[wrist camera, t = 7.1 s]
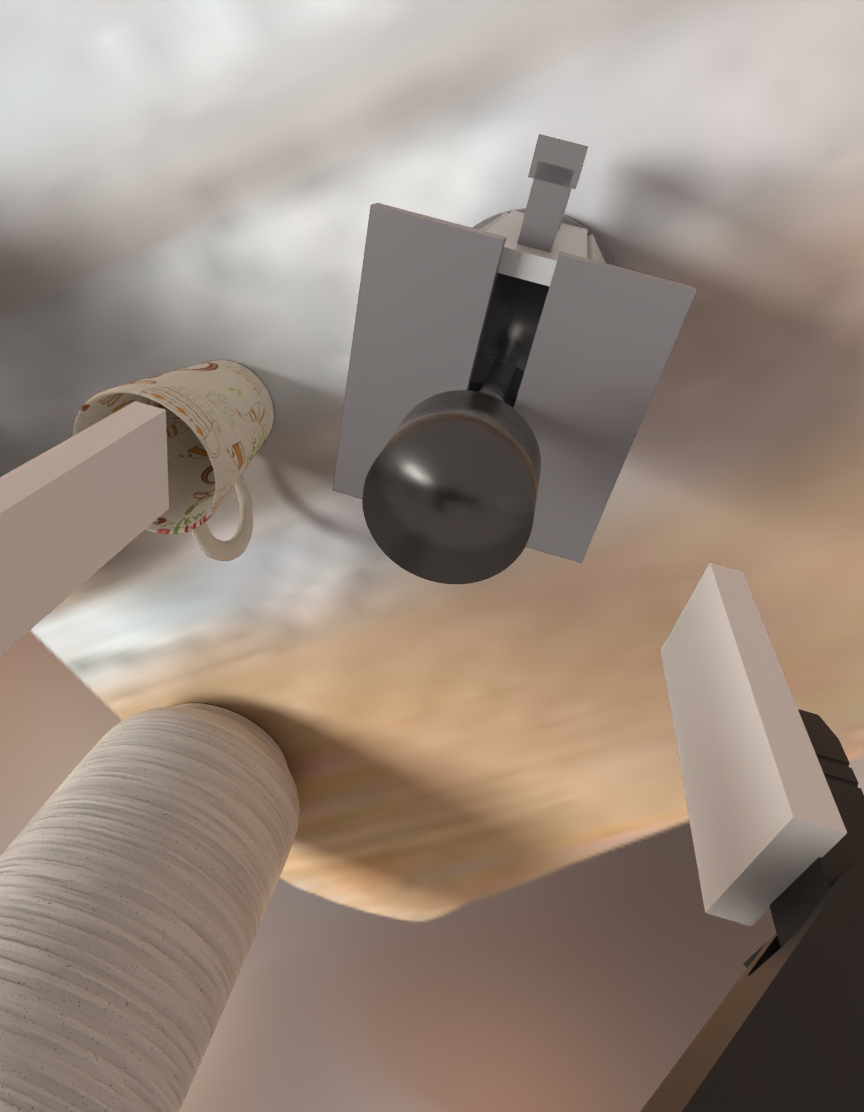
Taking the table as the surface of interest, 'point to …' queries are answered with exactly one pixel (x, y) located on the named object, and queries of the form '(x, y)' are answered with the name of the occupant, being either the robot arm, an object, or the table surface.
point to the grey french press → (557, 351)
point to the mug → (200, 443)
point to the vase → (137, 909)
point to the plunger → (465, 460)
